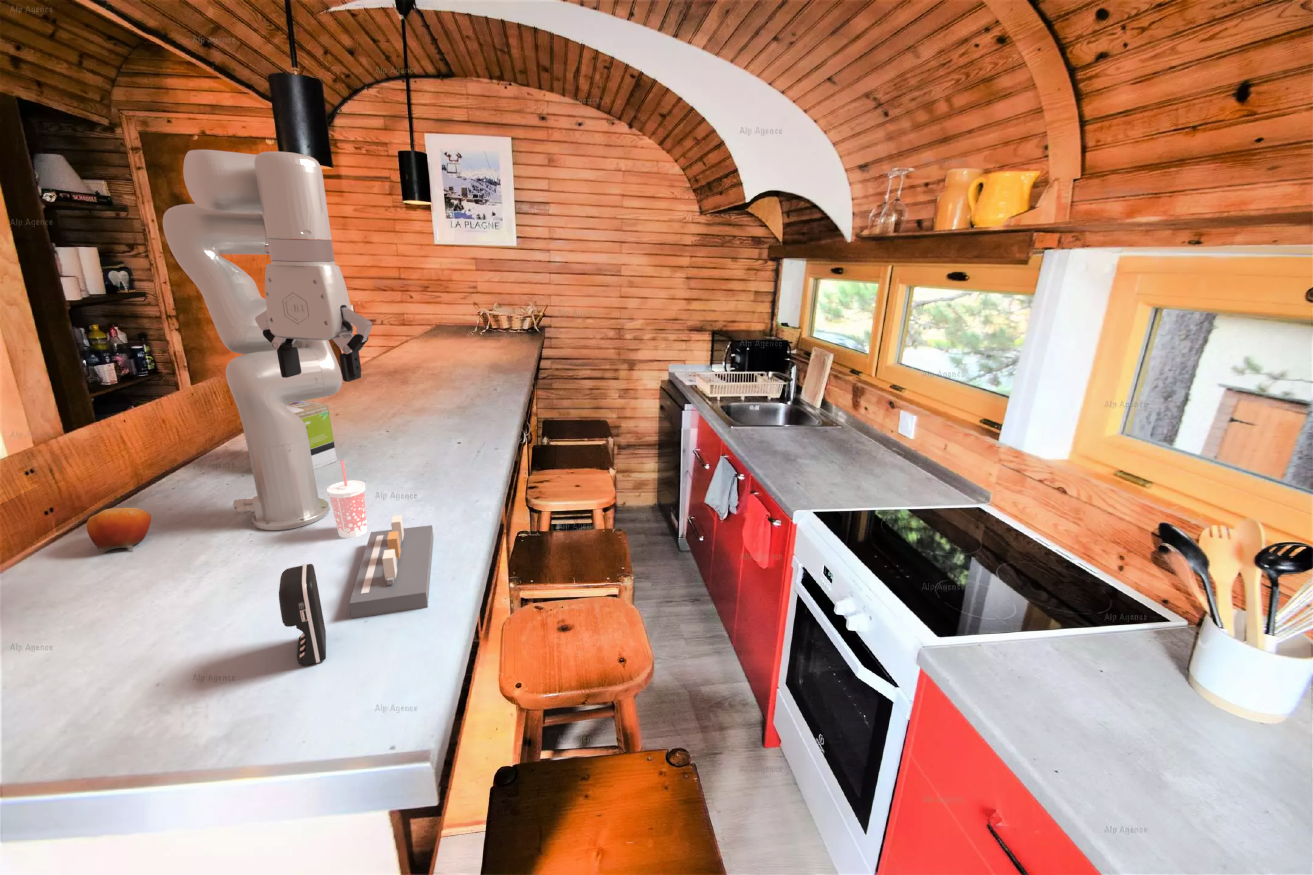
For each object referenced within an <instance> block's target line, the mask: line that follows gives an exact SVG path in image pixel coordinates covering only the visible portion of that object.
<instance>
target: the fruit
mask: <svg viewBox="0 0 1313 875" xmlns="http://www.w3.org/2000/svg"><path fill="white" fill-rule="evenodd" d="M86 521H87V522H86V532H87V534H88V537H89V539H90V541H91V542H92V544H93V545H94V546H95V547H96V548H97V549H98V550H99V551H101V552H102V553H103V554H105V553H107V552H109V551H112V550H115V549H128V550H130V552H134V551H133V547H134V546H135V545H137V544H140V543H142V542H143V540H144V539H145V538H146V536H147V534H148V532H149V530H150V527H151V522H152V515H151V514H150V513H149V512H148V511H146V510H144V509H141V508H138V507H114V508H113V507H111V508H106V509H103V510H101V511H99V512H98V513H97V514H94V515H92V516H89V518H88V519H87V520H86Z"/></svg>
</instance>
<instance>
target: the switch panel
mask: <svg viewBox="0 0 1313 875" xmlns="http://www.w3.org/2000/svg"><path fill="white" fill-rule="evenodd" d="M403 529H404V537H403V541H401V546H400V548H401V553H400V558H399V559H398V562H397V574H396V579H394V583H393V584H391V585H387V580H385V575H384V567H383V560H382V558H383V554H384V550H388V544H387V538H388V533H389V532H392V529H386V530H377V531H370V533H369V537H368V541H367V544H366V546H365V551H364V554H363V558H362V560H361V563H360V566H359V570H358V573H357V576H356V580H355V583H354V587H353V590H352V593H351V597H350V600H349V603H348V605H349V610H350V615H351V619H358V618H364V617H370V616H378V615H384V614H390V613H397V612H404V611H410V610H416V609H417V610H418V609H424V608H428V607H429V606H428V605H429V597H430V596H429V594H430V586H431V582H430V581H431V570H432V561H433V548H434V531H433V530H434V527H433V525H423V526H422V525H420V526H413V527H403Z"/></svg>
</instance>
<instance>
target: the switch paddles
mask: <svg viewBox="0 0 1313 875" xmlns="http://www.w3.org/2000/svg"><path fill="white" fill-rule="evenodd" d="M390 523H391V524H390V525H391V526H390V527H391V530H392V532H389V533H388V538H387V544H388V550H384V554H383V558H382V560H383V567H384V575H385V580H387V585H391V584H393V583H394V579H396V574H397V562H398V559H399V558H400V553H401V548H400V546H401V541H403V537H404V529H403V528H404V522H403V515H402V514H397V515H393V516H392V517H391V522H390Z"/></svg>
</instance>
